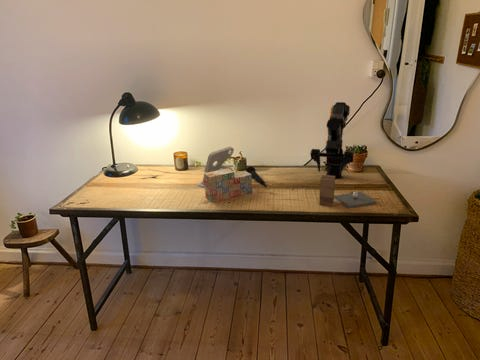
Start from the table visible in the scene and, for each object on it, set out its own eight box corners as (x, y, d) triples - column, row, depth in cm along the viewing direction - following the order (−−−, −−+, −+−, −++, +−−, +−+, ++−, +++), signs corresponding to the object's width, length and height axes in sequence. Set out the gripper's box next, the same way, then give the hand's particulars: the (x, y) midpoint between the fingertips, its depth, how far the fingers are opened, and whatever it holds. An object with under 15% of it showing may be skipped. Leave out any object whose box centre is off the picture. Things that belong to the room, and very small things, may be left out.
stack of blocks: (246, 188, 194) (245, 164, 189) (252, 193, 188) (252, 168, 184) (205, 197, 185) (203, 172, 180) (210, 202, 179) (209, 176, 175)
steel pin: (355, 197, 178) (356, 190, 177) (358, 199, 176) (358, 191, 175) (351, 198, 178) (352, 190, 176) (354, 199, 176) (354, 192, 175)
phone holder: (221, 175, 211) (219, 142, 204) (235, 180, 205) (234, 146, 198) (196, 185, 199) (194, 150, 192) (211, 190, 193) (209, 154, 186)
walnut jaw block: (320, 199, 179) (322, 174, 175) (333, 201, 177) (335, 175, 173) (319, 205, 174) (320, 179, 170) (332, 206, 172) (333, 180, 168)
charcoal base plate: (360, 193, 185) (360, 191, 184) (376, 203, 174) (376, 201, 174) (333, 197, 181) (334, 195, 180) (348, 208, 170) (348, 206, 170)
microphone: (268, 191, 197) (250, 174, 213) (272, 181, 195) (253, 164, 211) (259, 190, 194) (241, 173, 210) (263, 180, 193) (245, 163, 209)
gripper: (311, 131, 178) (306, 162, 172) (355, 133, 173) (351, 166, 167) (313, 143, 188) (309, 173, 182) (354, 146, 182) (351, 177, 176)
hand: (329, 172), depth 177 cm, fingers open, 9 cm apart
